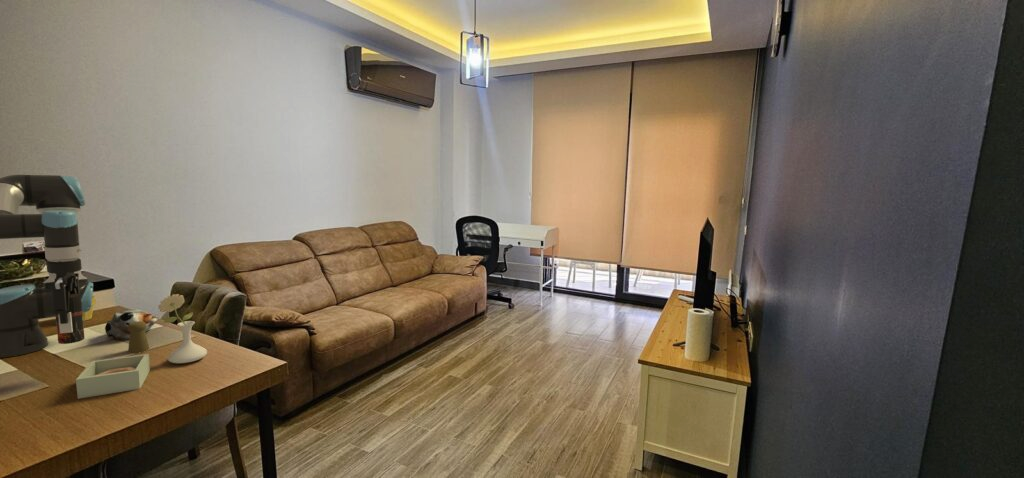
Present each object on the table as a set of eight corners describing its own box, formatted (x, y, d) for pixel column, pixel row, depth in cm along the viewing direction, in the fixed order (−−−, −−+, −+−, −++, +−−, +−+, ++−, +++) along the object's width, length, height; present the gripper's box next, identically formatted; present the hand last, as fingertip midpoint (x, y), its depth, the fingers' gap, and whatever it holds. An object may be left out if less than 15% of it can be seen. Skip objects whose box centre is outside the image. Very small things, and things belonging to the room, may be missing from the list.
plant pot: (56, 322, 181) (54, 300, 179) (84, 315, 191) (82, 294, 189) (76, 324, 179) (74, 302, 178) (103, 317, 189) (101, 296, 188)
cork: (153, 347, 160) (151, 320, 159) (138, 354, 154) (136, 325, 153) (139, 346, 161) (137, 319, 159) (123, 352, 155) (121, 324, 153)
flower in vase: (204, 350, 160) (201, 287, 156) (210, 360, 152) (206, 294, 148) (160, 359, 151) (155, 292, 147) (163, 370, 143) (159, 300, 139)
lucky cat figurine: (152, 326, 181) (162, 301, 178) (149, 345, 173) (159, 319, 169) (105, 323, 171) (115, 296, 168) (100, 343, 163) (109, 315, 159)
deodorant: (88, 338, 138) (84, 295, 136) (64, 345, 132) (60, 299, 130) (77, 335, 140) (73, 292, 137) (53, 341, 134) (49, 296, 132)
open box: (93, 378, 135) (92, 361, 134) (149, 370, 142) (148, 353, 142) (77, 398, 123) (75, 379, 123) (139, 388, 130) (138, 370, 130)
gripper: (68, 264, 126) (75, 337, 129) (90, 253, 142) (95, 318, 145) (32, 266, 122) (40, 341, 125) (59, 254, 138) (65, 320, 141)
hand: (70, 328), depth 135 cm, fingers closed on deodorant, 6 cm apart
